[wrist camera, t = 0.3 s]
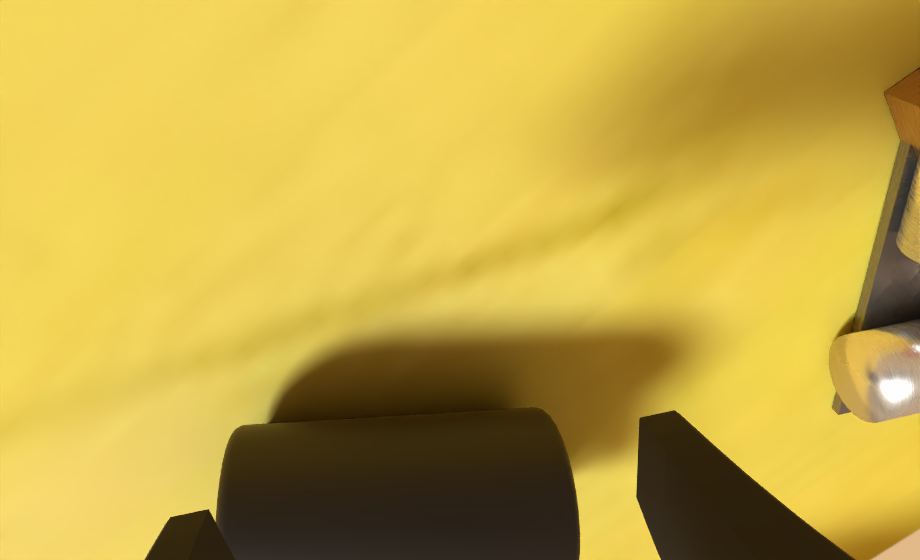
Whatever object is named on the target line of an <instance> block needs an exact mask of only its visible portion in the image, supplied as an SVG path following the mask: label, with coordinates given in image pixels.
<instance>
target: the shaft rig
mask: <svg viewBox="0 0 920 560" xmlns="http://www.w3.org/2000/svg"><path fill="white" fill-rule="evenodd" d="M884 94H885V97H886V100H887V102H888V105H889V108H890V111H891V114H892V116H893V119H894V122H895V125H896V128H897V131H898V133H899V136H900V139H901V141H900V145H899V149H898V153H897V157H896V160H895V164H894V168H893V172H892V176H891V180H890V184H889V188H888V192H887V196H886V200H885V203H884V207H883V211H882V215H881V219H880V223H879V227H878V231H877V235H876V239H875V242H874V246H873V250H872V254H871V258H870V262H869V266H868V270H867V274H866V278H865V281H864V285H863V289H862V293H861V297H860V301H859V305H858V309H857V313H856V317H855V320H854V324H853V328H852V332H851V334H846V335H842V336H840V337H838V338H837V339H836V340H835V341H834V343H833V344H832V346H831V349H830V354H829V368H830V373H831V378H832V381H833V384H834V386H835V389H836V395H835V398H834V402H833V406H832V409H833V410H834V411H835V412H836V413H837V414H838V415H840V414H844V413H849V412H852V413H853V414H854V415H856V416H857V417H858V418H860V419H862V420H864V421H866V422H870V423H877V422H881V421H886V420H890V419H895V418H899V417H904V416H908V415H912V414H917V413H920V68H919V69H917V70H916V71H915V72H913V73H912V74H910V75H909V76H907V77H906V78H905V79H903V80H902V81H900V82H899V83H897V84H896V85H895V86H893V87H892V88H890V89H889V90H887V91H886V92H885V93H884Z"/></svg>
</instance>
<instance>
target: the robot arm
mask: <svg viewBox="0 0 920 560" xmlns="http://www.w3.org/2000/svg"><path fill="white" fill-rule="evenodd" d="M636 497H637V500H638V502H639V505H640V508H641V510H642V513H643V516H644V518H645V521H646V524H647V526H648V529H649V531H650V534H651V536H652V539H653V541H654V544H655V546H656V549H657V551H658V554H659V556H660V558H661V560H855V559H854V558H852V557H851V556H850V555H848V554H847V553H846V552H844V551H843V550H842V549H840V548H839V547H838V546H836V545H835V544H834V543H832V542H831V541H830V540H828V539H827V538H826V537H824V536H823V535H822V534H820V533H819V532H818V531H816V530H815V529H814V528H813V527H811V526H810V525H809V524H807V523H806V522H805V521H804V520H802V519H801V518H800V517H798V516H797V515H796V514H795V513H793V512H792V511H791V510H790V509H789V508H787V507H786V506H785V505H784V504H782V503H781V502H780V501H779V500H778V499H776V498H775V497H774V496H773V495H771V494H770V493H769V492H768V491H767V490H765V489H764V488H763V487H762V486H760V485H759V484H758V483H757V482H756V481H755V480H753V479H752V478H751V477H750V476H749V475H747V474H746V473H745V472H744V471H743V470H742V469H741V468H739V467H738V466H737V465H736V464H735V463H734V462H733V461H731V460H730V459H729V458H728V457H727V456H726V455H725V454H723V453H722V452H721V451H720V450H719V449H718V448H717V447H716V446H714V445H713V444H712V443H711V442H710V441H709V440H708V439H707V438H706V437H704V436H703V435H702V434H701V433H700V432H699V431H698V430H697V429H696V428H695V427H693V426H692V425H691V424H690V423H689V422H688V421H687V420H686V419H685V418H684V417H682V416H681V415H680V414H679V413H677V412H676V411H669V412H665V413H660V414H655V415H651V416H646V417H641V418H640V420H639V445H638V470H637V495H636ZM145 560H235V558H234V556H233V555H232V553H231V551H230V549H229V547H228V545H227V543H226V541H225V539H224V537H223V536H222V534H221V532H220V530H219V528H218V526H217V524H216V522H215V520H214V519H213V517H212V515H211V513H210V511H209V509H208V510H203V511H198V512H193V513H189V514H184V515H179V516H175V517H170V519H169V520H168V521H167V523H166V524H165V526H164V528H163V529H162V531H161V533H160V534H159V536H158V538H157V539H156V541H155V543H154V544H153V546H152V548H151V550H150V551H149V553H148V555H147V556H146V558H145Z"/></svg>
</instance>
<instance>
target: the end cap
mask: <svg viewBox="0 0 920 560" xmlns="http://www.w3.org/2000/svg"><path fill="white" fill-rule="evenodd" d="M216 524H217V526H218V528H219V530H220V532H221V534H222V536H223V537H224V539H225V541H226V543H227V545H228V547H229V549H230V551H231V553H232V555H233V556H234V558H235V560H579V555H580V526H579V511H578V504H577V496H576V489H575V484H574V479H573V473H572V469H571V465H570V461H569V458H568V454H567V451H566V448H565V445H564V442H563V439H562V437H561V435H560V433H559V431H558V429H557V426H556V425H555V423H554V422H553V420H552V419H551V417H550V416H549V415H548V414H547V413H546V412H544V411H543V410H542V409H539V408H533V407H531V408H515V409H499V410H482V411H466V412H450V413H433V414H417V415H401V416H384V417H368V418H351V419H335V420H319V421H302V422H286V423H270V424H253V425H243V426H240V427H239V428H237V429H235V431H234V432H233V433H232V435H231V437H230V439H229V441H228V444H227V447H226V450H225V454H224V458H223V463H222V469H221V475H220V481H219V490H218V499H217V511H216Z"/></svg>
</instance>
